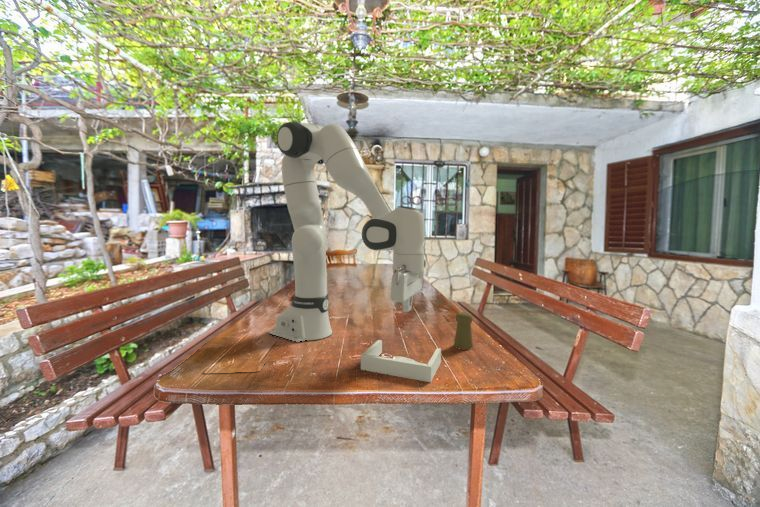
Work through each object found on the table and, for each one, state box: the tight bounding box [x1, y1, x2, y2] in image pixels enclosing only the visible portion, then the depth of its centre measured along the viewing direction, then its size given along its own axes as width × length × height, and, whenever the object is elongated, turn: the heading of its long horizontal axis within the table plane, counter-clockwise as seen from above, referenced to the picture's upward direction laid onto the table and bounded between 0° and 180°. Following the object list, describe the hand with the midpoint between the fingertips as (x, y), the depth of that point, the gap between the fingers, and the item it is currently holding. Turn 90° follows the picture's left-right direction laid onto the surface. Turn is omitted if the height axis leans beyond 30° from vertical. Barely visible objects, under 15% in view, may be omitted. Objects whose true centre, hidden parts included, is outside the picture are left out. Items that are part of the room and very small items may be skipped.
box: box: [360, 339, 442, 383], centre depth 90 cm, size 19×13×4 cm
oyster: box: [392, 355, 419, 363], centre depth 89 cm, size 8×12×2 cm, turn 30°
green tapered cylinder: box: [453, 311, 474, 350], centre depth 104 cm, size 6×6×11 cm
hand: (407, 310), depth 94 cm, fingers closed
